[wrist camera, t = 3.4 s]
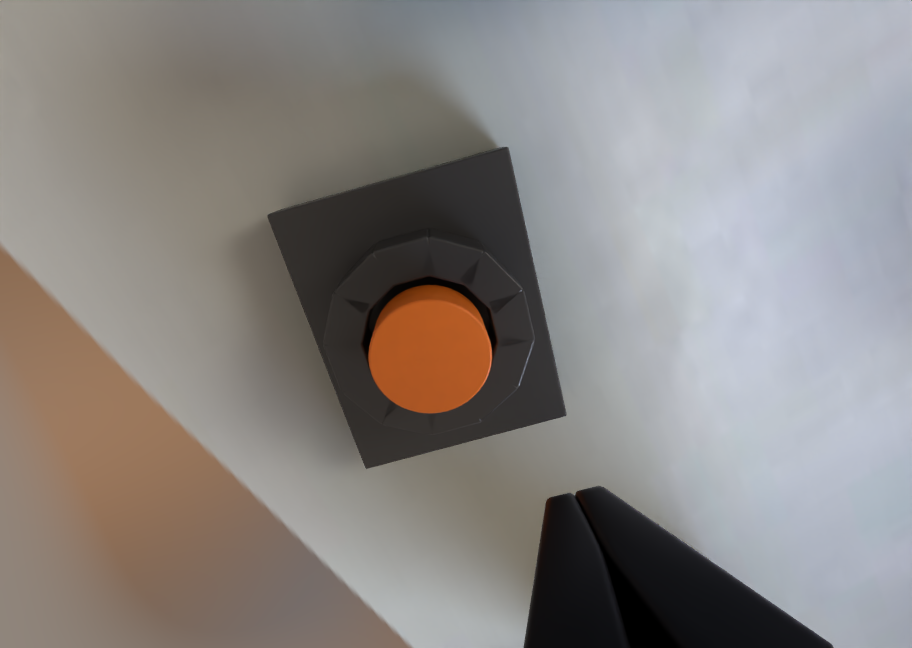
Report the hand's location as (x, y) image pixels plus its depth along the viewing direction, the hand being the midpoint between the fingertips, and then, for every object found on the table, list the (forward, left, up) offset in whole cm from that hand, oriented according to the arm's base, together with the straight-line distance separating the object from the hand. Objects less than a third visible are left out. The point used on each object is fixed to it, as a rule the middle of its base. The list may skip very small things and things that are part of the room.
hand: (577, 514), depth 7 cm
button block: (-1, +2, -12) cm, 12 cm away
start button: (-1, +2, -9) cm, 9 cm away
